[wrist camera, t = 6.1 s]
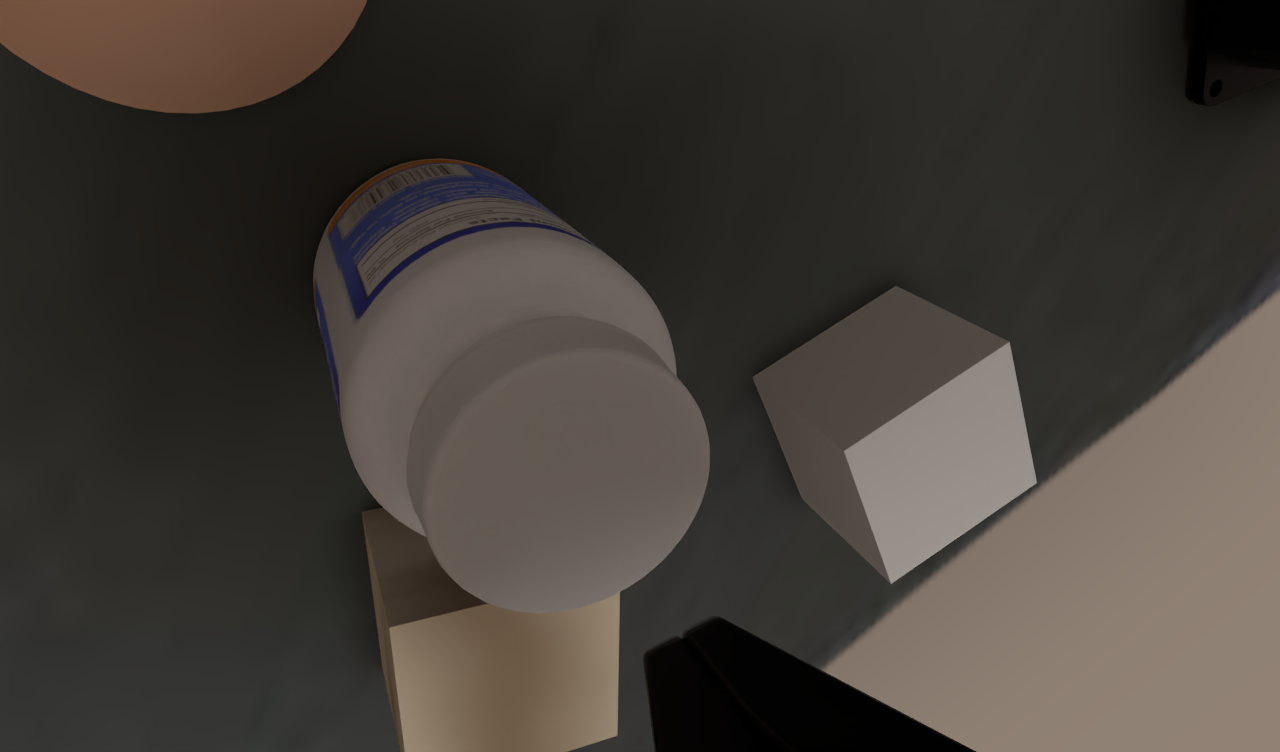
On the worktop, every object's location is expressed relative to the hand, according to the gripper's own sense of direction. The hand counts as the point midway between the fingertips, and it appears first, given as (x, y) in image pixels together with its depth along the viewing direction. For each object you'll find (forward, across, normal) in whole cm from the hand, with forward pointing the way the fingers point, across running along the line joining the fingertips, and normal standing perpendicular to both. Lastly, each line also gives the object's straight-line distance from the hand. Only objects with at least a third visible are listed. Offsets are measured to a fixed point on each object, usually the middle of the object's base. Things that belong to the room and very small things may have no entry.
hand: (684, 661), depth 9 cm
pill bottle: (+13, 0, 0) cm, 13 cm away
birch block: (+13, +2, +8) cm, 15 cm away
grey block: (+13, -10, +8) cm, 18 cm away
